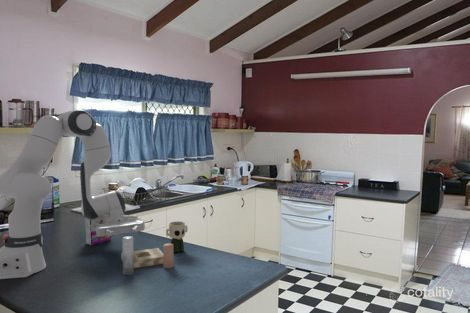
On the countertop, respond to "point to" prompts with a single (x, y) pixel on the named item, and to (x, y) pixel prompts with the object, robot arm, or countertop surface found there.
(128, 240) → the steel pin
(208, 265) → the countertop surface
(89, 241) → the candy bar box
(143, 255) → the hole plate
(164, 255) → the terracotta pin
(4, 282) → the countertop surface
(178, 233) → the character mug
